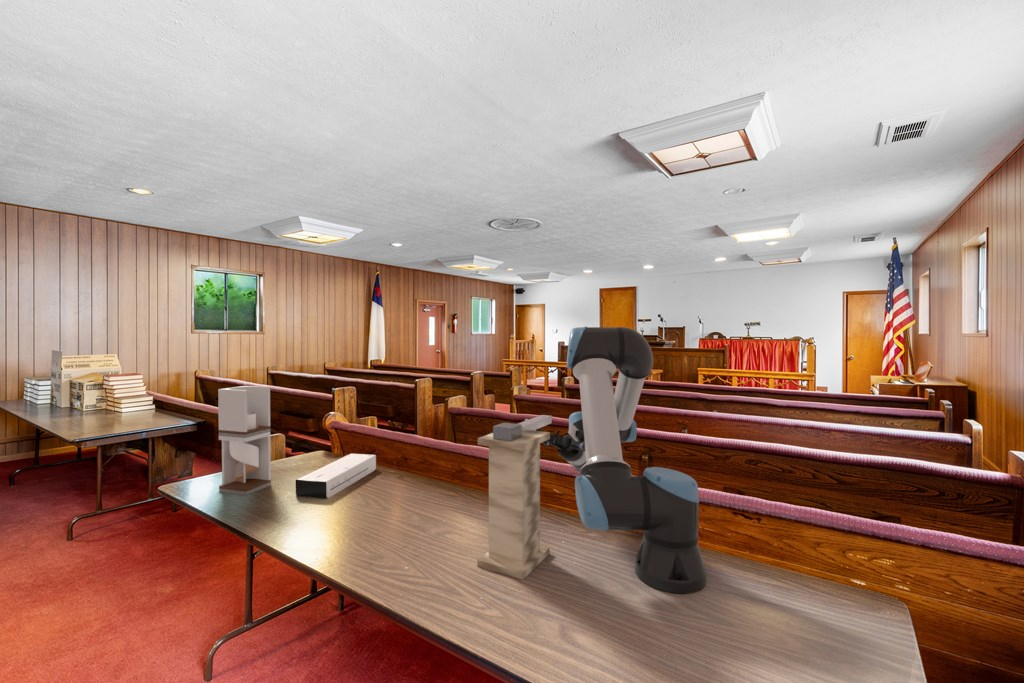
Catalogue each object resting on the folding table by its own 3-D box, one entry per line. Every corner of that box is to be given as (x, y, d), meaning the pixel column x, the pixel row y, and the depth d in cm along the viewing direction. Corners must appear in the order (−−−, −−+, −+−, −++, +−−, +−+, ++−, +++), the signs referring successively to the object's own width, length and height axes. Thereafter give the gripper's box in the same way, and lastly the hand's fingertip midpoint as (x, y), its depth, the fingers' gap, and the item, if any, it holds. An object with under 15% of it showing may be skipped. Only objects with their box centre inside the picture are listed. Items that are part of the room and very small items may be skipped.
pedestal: (507, 542, 121) (507, 427, 120) (549, 553, 115) (550, 432, 114) (477, 566, 109) (477, 438, 108) (522, 579, 103) (523, 444, 102)
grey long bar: (538, 421, 128) (539, 410, 128) (554, 423, 126) (555, 412, 126) (493, 439, 107) (493, 426, 107) (511, 441, 105) (511, 428, 105)
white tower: (219, 491, 159) (218, 389, 158) (245, 482, 169) (244, 385, 168) (245, 495, 155) (244, 390, 155) (270, 485, 166) (270, 387, 165)
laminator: (326, 500, 152) (326, 481, 152) (292, 498, 154) (292, 479, 154) (376, 470, 185) (376, 454, 185) (347, 468, 187) (347, 453, 187)
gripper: (609, 467, 137) (587, 444, 120) (533, 456, 149) (504, 433, 133) (613, 443, 140) (593, 417, 124) (539, 434, 152) (511, 409, 136)
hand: (547, 425), depth 128 cm, fingers open, 13 cm apart
